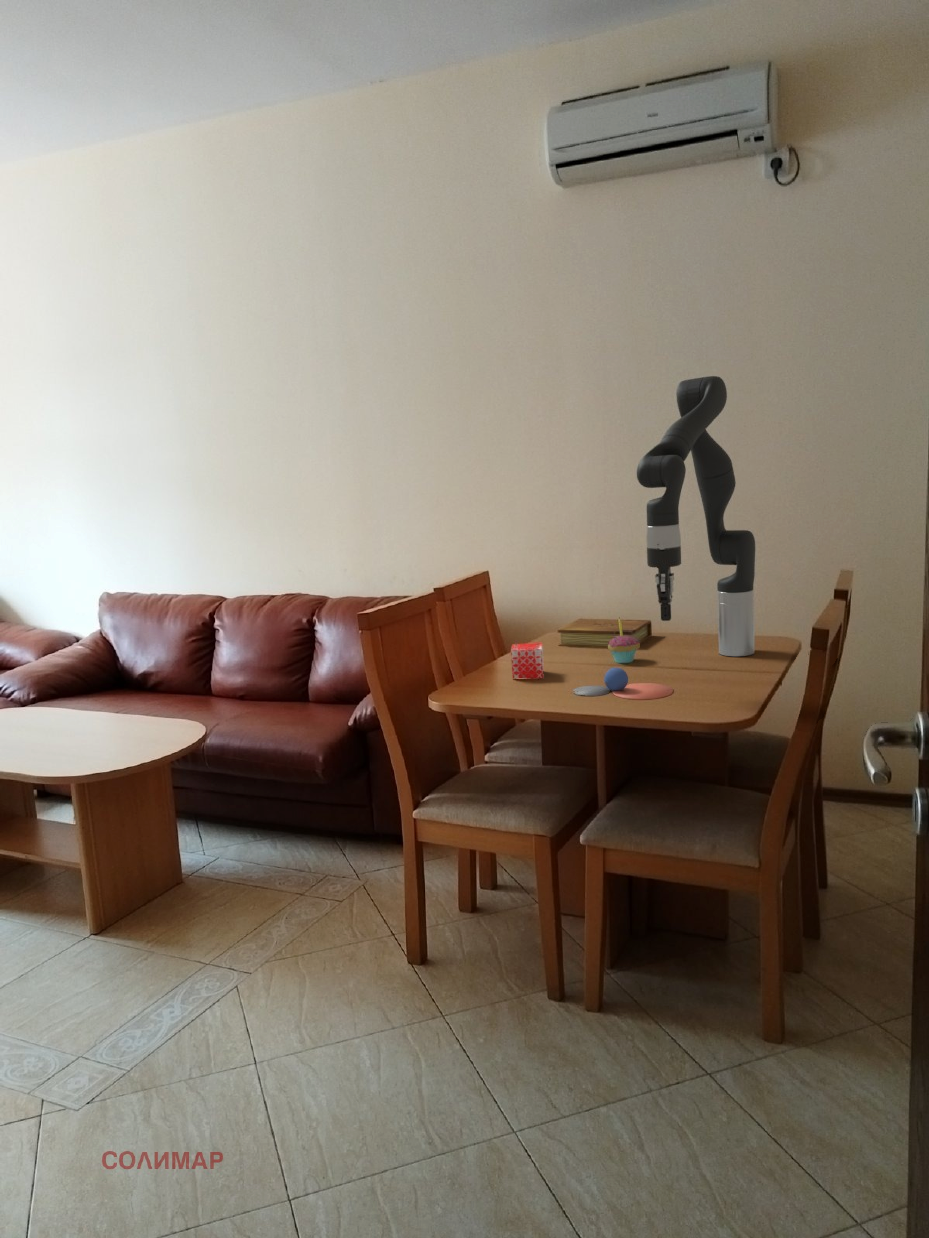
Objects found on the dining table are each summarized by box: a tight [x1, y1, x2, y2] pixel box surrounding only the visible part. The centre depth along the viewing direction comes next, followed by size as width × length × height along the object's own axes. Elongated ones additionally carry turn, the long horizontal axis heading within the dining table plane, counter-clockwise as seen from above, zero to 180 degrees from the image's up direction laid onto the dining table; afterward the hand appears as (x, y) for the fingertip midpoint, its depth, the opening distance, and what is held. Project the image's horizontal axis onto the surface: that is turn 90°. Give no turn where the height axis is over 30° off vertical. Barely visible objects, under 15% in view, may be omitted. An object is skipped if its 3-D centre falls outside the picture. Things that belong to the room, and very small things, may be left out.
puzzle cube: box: [510, 642, 545, 679], centre depth 228 cm, size 8×8×8 cm
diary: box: [557, 618, 653, 649], centre depth 264 cm, size 23×19×6 cm
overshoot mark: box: [572, 685, 612, 697], centre depth 209 cm, size 9×9×1 cm
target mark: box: [611, 682, 674, 701], centre depth 205 cm, size 14×14×1 cm
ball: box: [603, 667, 629, 692], centre depth 207 cm, size 6×6×6 cm
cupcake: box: [607, 616, 641, 664], centre depth 236 cm, size 9×8×12 cm
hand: (666, 620), depth 200 cm, fingers closed
